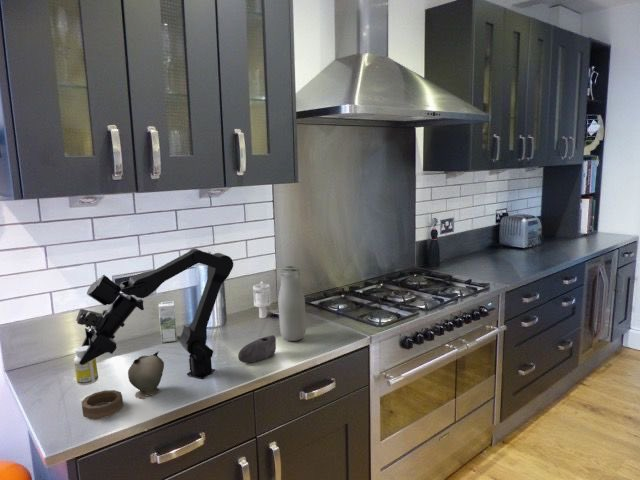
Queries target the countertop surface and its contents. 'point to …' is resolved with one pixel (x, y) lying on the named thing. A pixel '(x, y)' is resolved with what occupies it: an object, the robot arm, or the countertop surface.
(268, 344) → the perforated stone tool
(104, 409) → the walnut ring socket
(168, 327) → the syrup box
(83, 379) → the supplement bottle
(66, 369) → the countertop surface
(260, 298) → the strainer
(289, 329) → the grey bottle vase
